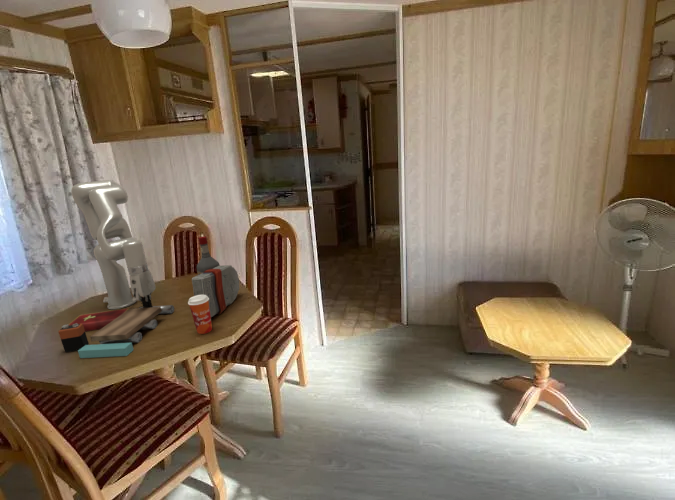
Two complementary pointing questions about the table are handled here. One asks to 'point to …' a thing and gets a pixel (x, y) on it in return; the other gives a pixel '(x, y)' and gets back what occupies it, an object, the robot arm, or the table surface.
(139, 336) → the roller
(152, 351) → the table surface
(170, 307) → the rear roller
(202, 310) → the paper cup
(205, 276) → the decorative stone tablet
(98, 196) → the robot arm
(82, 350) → the block
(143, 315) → the walnut slab
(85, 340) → the battery
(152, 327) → the front roller
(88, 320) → the hardcover book
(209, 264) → the liquor
